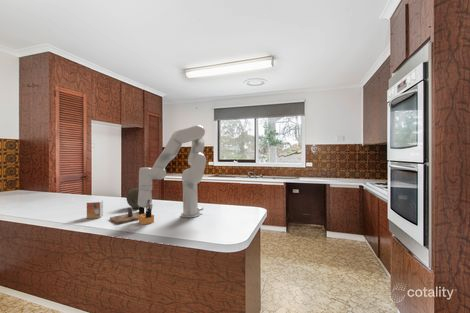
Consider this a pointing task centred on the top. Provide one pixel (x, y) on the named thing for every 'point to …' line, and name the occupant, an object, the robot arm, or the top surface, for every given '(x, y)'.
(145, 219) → the orange square ring
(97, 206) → the small box
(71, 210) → the top surface
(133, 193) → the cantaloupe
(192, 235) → the top surface
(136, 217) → the board
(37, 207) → the top surface
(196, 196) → the robot arm
